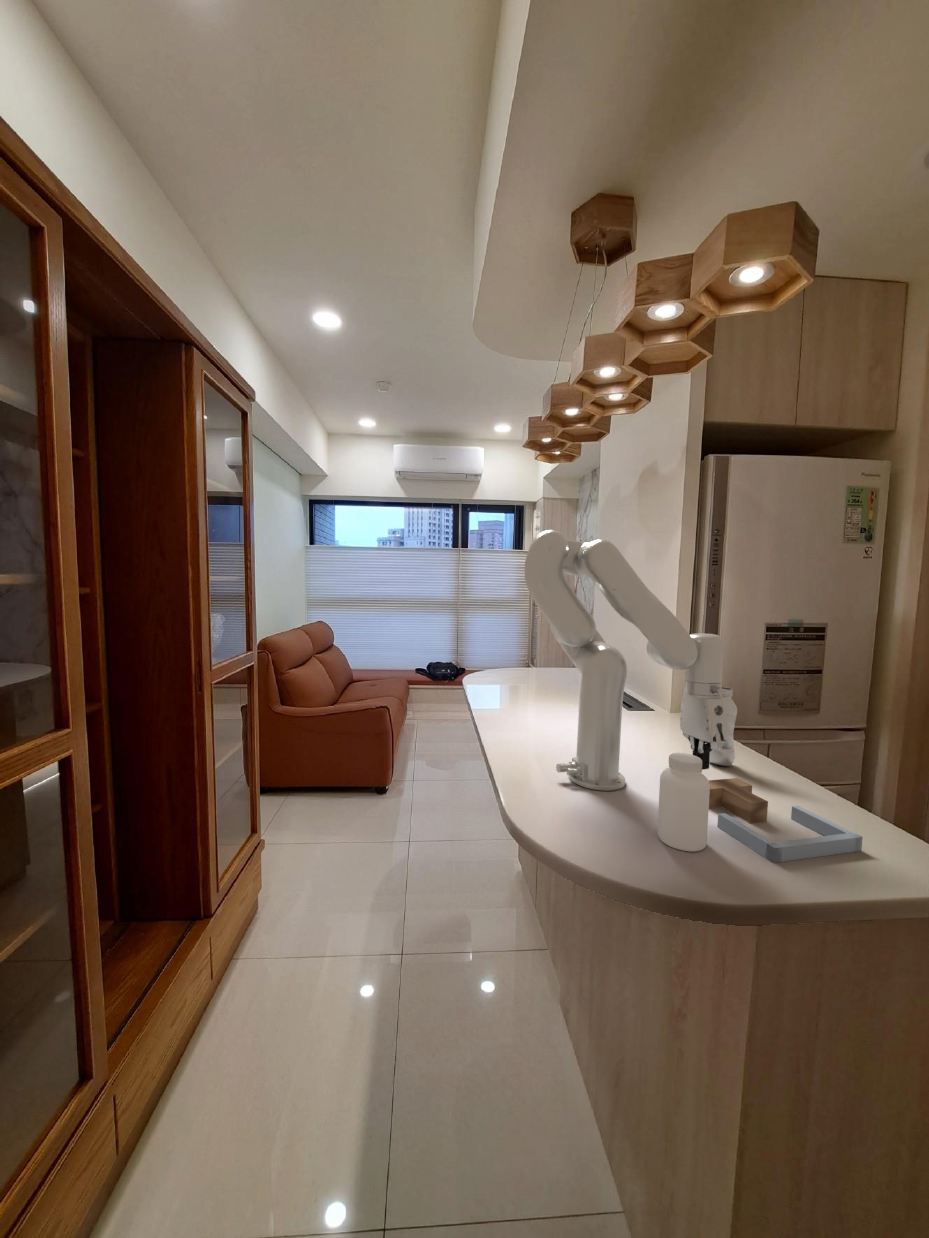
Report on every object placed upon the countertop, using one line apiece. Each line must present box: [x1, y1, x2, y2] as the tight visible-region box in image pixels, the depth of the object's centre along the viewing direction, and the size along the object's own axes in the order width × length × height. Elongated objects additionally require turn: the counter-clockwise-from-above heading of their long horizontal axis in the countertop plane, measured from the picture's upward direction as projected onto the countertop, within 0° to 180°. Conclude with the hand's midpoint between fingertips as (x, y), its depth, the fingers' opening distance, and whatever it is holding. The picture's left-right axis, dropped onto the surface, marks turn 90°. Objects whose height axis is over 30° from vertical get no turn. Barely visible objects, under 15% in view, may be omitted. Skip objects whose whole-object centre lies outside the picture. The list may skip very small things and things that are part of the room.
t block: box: [708, 777, 769, 824], centre depth 96 cm, size 11×11×4 cm
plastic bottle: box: [709, 686, 738, 767], centre depth 122 cm, size 6×7×20 cm
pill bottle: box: [657, 752, 710, 852], centre depth 83 cm, size 8×8×15 cm
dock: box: [716, 805, 863, 864], centre depth 85 cm, size 19×12×2 cm, turn 104°
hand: (700, 767), depth 107 cm, fingers closed
